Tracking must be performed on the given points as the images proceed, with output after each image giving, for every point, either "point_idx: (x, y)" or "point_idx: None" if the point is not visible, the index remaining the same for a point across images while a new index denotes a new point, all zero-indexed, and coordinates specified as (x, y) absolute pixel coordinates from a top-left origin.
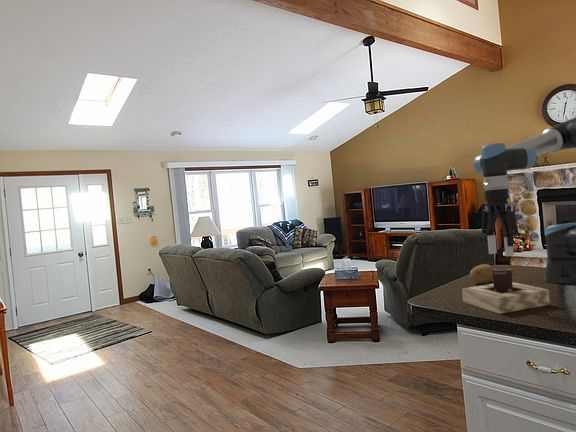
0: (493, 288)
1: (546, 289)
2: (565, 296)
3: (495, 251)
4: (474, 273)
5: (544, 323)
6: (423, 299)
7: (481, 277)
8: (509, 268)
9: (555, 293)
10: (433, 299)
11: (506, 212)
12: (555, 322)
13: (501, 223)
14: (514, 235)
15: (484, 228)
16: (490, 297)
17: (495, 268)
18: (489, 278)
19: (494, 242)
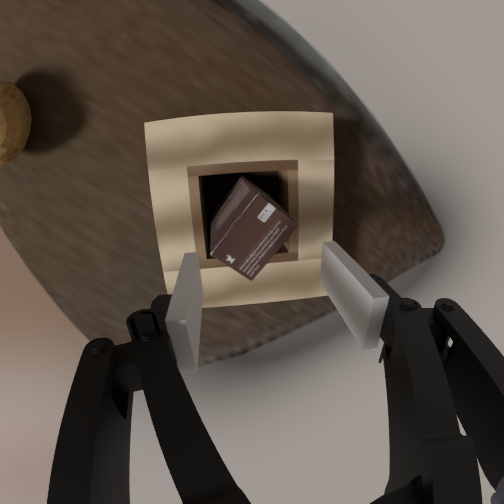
0: (203, 223)
1: (326, 114)
2: (266, 21)
3: (197, 264)
4: (5, 162)
5: (407, 244)
6: (114, 342)
7: (23, 144)
8: (258, 203)
9: (222, 15)
10: (121, 327)
11: (491, 480)
12: (414, 223)
13: (389, 434)
14: (423, 308)
15: (129, 414)
16: (298, 297)
17: (221, 249)
18: (29, 116)
19: (192, 296)
